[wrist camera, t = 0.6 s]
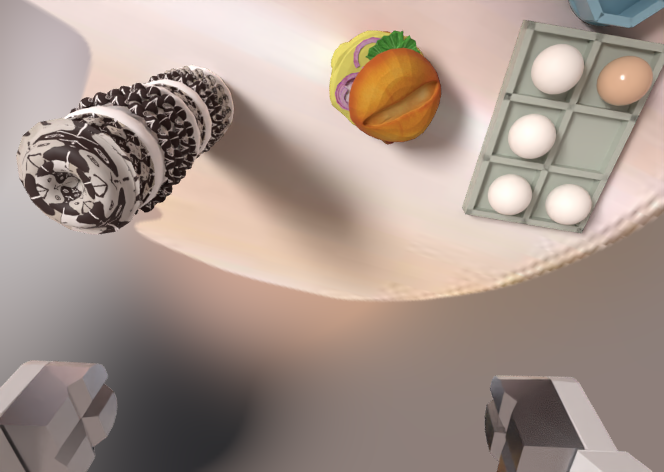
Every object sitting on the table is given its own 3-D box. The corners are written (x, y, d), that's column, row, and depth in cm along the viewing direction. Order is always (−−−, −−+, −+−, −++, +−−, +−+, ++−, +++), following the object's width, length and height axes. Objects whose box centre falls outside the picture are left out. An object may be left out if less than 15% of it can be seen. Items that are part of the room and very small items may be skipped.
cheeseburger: (360, 0, 44) (385, 17, 36) (439, 57, 48) (477, 83, 40) (308, 89, 48) (320, 122, 40) (385, 134, 52) (410, 172, 44)
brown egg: (600, 49, 44) (624, 54, 40) (645, 57, 44) (673, 63, 40) (580, 96, 46) (601, 106, 42) (623, 103, 46) (648, 113, 42)
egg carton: (523, 19, 44) (542, 22, 39) (661, 44, 44) (697, 49, 39) (462, 207, 54) (471, 227, 49) (575, 226, 54) (595, 248, 49)
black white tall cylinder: (225, 157, 52) (125, 271, 30) (149, 125, 51) (-11, 221, 29) (248, 83, 48) (153, 155, 26) (166, 47, 47) (-6, 90, 25)
